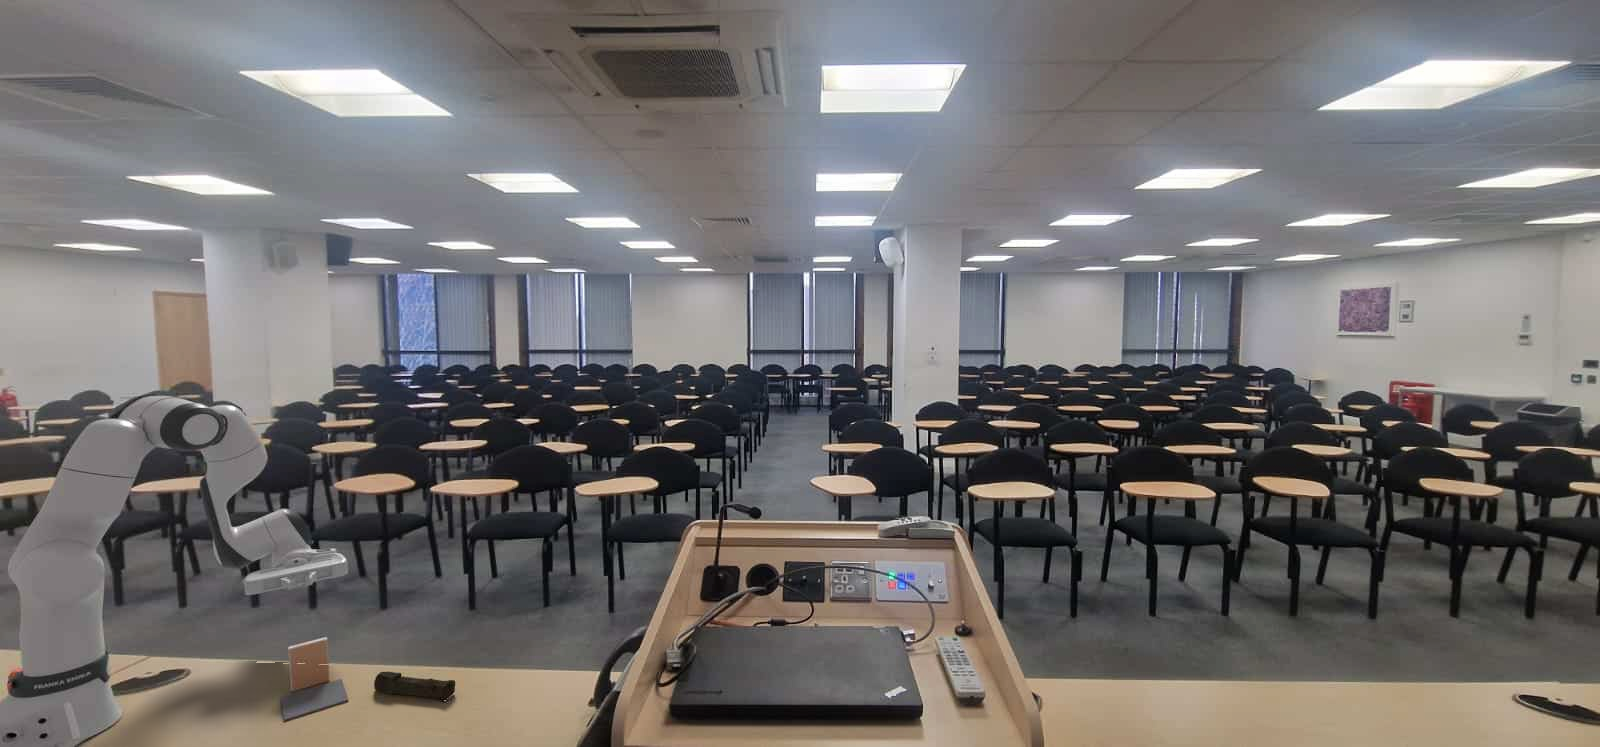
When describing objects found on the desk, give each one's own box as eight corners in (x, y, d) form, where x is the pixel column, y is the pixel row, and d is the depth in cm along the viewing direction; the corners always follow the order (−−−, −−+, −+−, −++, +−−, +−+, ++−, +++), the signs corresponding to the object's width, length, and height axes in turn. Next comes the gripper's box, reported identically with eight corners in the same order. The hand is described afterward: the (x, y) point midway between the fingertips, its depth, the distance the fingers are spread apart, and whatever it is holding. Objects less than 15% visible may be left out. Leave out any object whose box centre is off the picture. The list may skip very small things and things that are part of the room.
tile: (291, 692, 146) (288, 649, 145) (291, 689, 147) (288, 646, 146) (330, 681, 150) (327, 639, 150) (329, 678, 152) (326, 636, 151)
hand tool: (457, 694, 145) (456, 674, 145) (444, 704, 141) (443, 683, 141) (385, 685, 149) (384, 665, 149) (370, 694, 145) (369, 674, 145)
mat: (284, 721, 135) (284, 719, 135) (280, 698, 143) (280, 697, 143) (348, 701, 142) (348, 699, 142) (341, 680, 151) (341, 678, 151)
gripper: (241, 565, 159) (242, 582, 149) (342, 546, 173) (350, 560, 163) (242, 591, 160) (244, 609, 150) (344, 569, 173) (351, 585, 163)
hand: (300, 584), depth 156 cm, fingers closed
